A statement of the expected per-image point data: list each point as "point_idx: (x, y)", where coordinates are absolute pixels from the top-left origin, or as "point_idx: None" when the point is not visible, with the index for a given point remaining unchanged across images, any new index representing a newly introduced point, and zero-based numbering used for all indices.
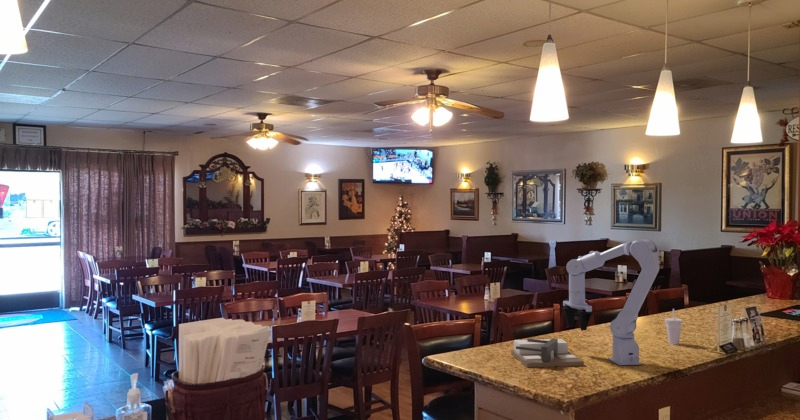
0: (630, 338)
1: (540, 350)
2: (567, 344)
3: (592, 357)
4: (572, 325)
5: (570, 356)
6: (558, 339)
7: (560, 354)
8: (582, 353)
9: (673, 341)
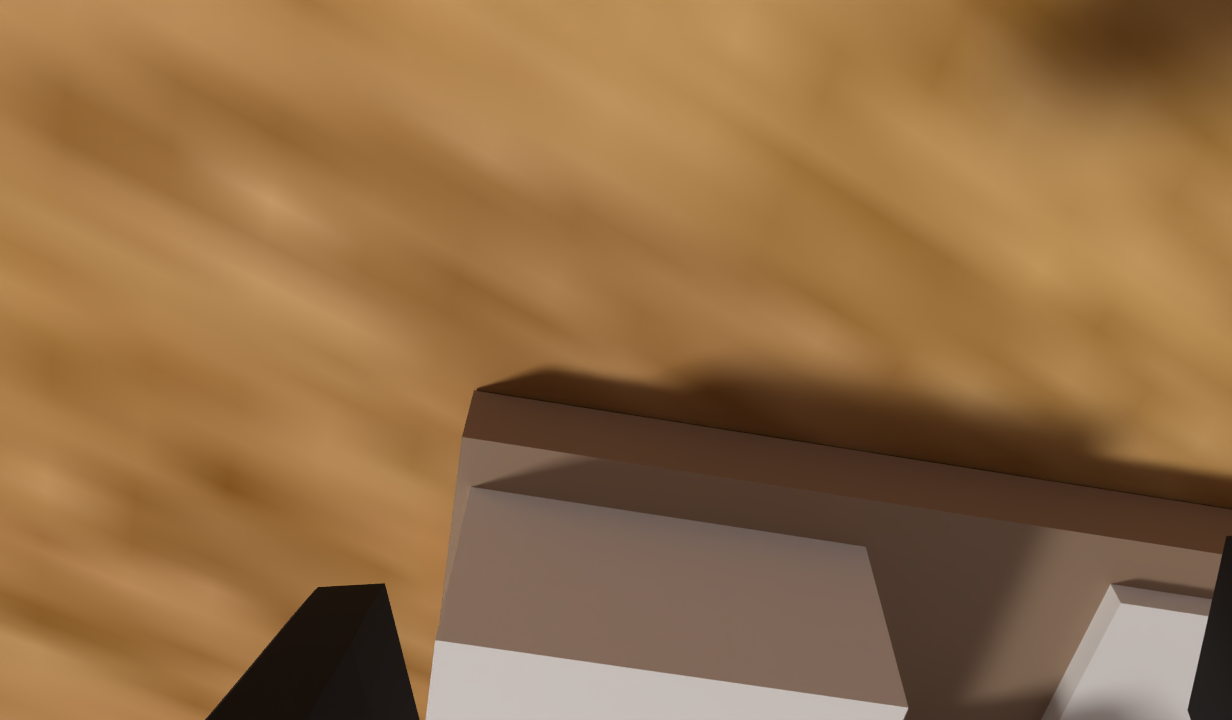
0: None
1: None
2: (898, 682)
3: (1093, 43)
4: (388, 660)
5: None
6: (491, 709)
7: (906, 696)
8: (664, 45)
9: None
